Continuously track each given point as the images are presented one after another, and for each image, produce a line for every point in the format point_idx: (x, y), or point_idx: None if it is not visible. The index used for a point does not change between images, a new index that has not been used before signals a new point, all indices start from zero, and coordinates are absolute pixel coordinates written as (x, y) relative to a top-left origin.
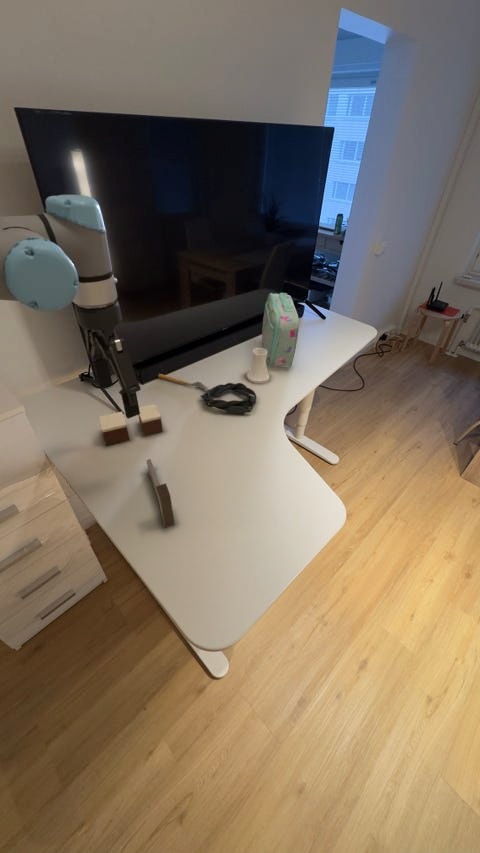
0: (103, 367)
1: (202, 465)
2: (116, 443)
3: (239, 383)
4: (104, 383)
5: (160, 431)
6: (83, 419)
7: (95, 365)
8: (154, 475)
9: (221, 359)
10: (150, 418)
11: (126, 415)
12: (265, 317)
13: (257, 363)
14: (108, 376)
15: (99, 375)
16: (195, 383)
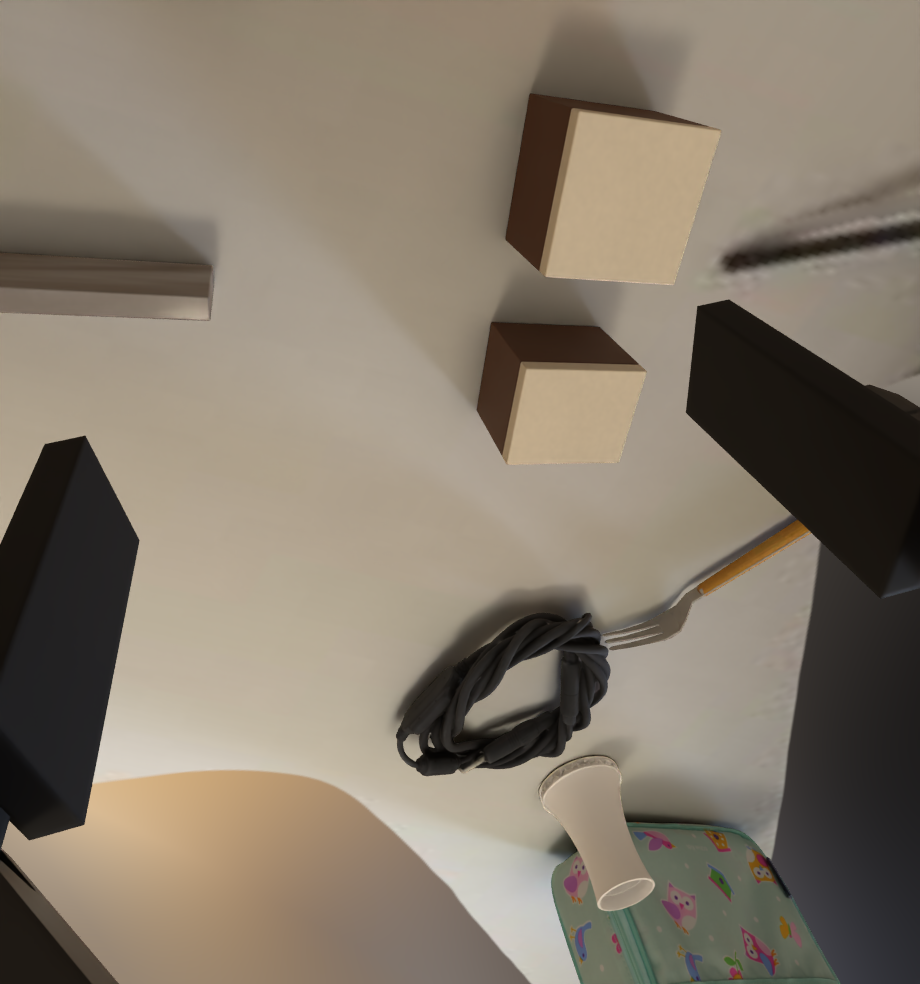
0: (827, 490)
1: (163, 506)
2: (519, 159)
3: (559, 752)
4: (715, 364)
5: (479, 403)
6: (840, 23)
7: (893, 448)
8: (48, 303)
9: (758, 710)
10: (517, 415)
11: (55, 457)
12: (784, 947)
13: (595, 846)
14: (743, 445)
15: (785, 387)
16: (683, 615)
